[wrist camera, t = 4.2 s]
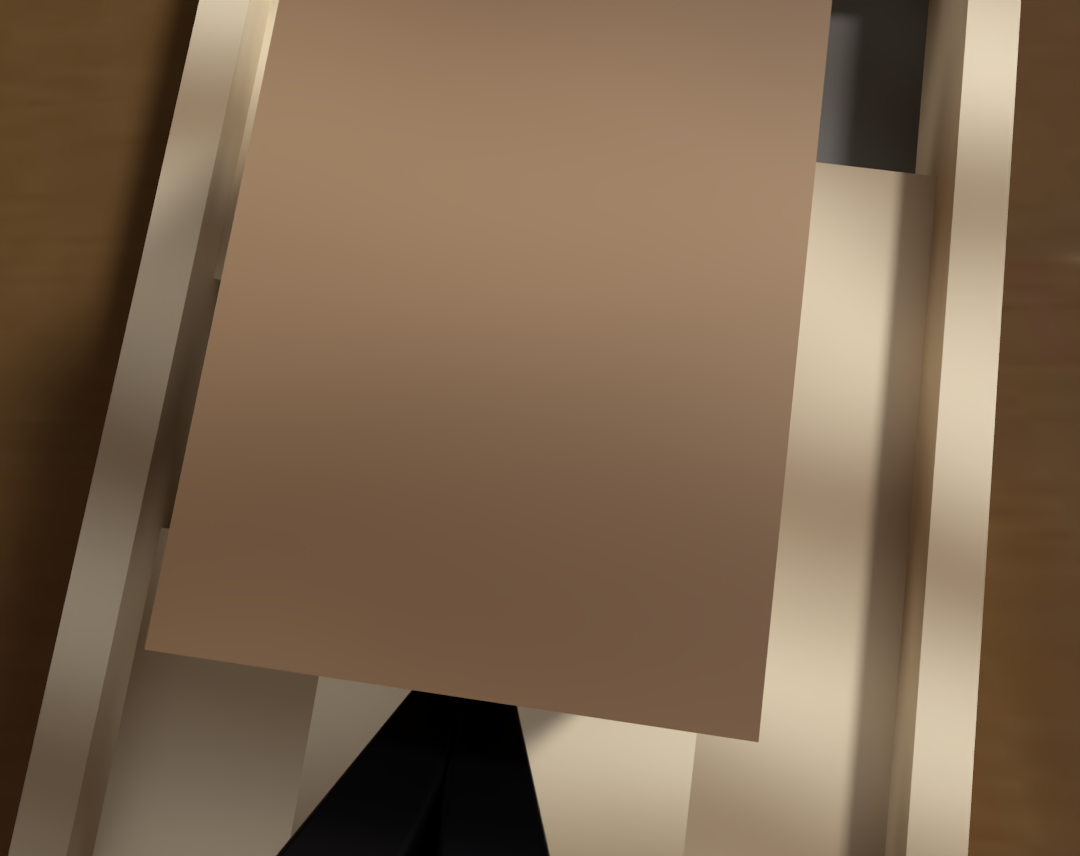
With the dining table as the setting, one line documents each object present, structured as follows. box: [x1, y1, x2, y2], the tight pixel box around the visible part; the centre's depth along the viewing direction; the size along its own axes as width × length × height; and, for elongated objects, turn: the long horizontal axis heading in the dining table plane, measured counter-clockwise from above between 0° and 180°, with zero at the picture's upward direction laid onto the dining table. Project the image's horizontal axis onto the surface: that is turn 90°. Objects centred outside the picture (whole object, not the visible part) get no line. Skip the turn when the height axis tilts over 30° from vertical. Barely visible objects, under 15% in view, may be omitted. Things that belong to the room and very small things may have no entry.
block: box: [144, 0, 832, 742], centre depth 13 cm, size 12×5×10 cm, turn 172°
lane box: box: [8, 0, 1021, 856], centre depth 18 cm, size 27×16×4 cm, turn 172°
